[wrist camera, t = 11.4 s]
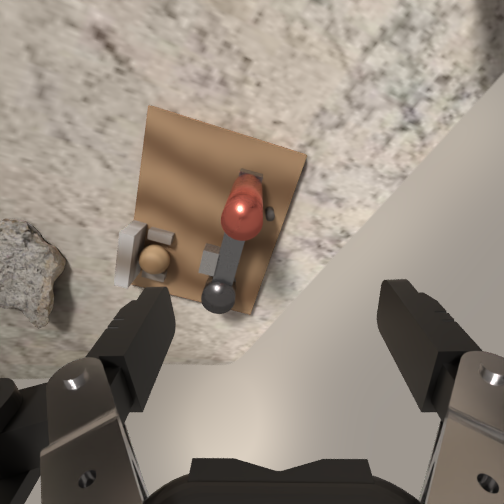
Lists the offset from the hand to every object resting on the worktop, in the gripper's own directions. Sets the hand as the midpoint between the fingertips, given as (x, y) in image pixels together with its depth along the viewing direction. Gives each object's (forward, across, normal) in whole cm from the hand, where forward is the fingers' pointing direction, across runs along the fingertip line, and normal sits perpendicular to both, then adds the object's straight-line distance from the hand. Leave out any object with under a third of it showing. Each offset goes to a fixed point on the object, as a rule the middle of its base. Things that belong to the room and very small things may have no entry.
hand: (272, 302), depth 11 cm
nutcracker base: (+25, +8, +5) cm, 26 cm away
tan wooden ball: (+24, +14, +9) cm, 29 cm away
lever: (+22, +5, +7) cm, 24 cm away
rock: (+25, +34, +11) cm, 43 cm away
